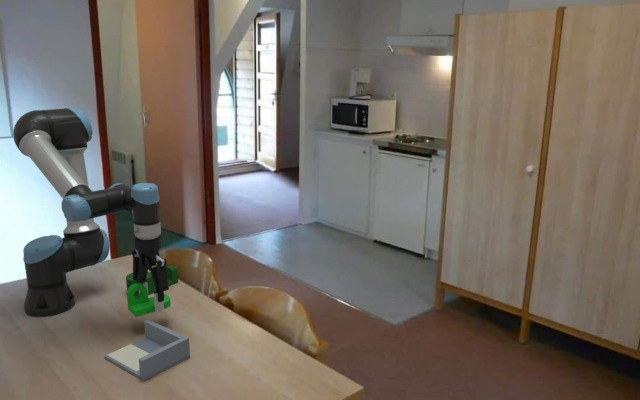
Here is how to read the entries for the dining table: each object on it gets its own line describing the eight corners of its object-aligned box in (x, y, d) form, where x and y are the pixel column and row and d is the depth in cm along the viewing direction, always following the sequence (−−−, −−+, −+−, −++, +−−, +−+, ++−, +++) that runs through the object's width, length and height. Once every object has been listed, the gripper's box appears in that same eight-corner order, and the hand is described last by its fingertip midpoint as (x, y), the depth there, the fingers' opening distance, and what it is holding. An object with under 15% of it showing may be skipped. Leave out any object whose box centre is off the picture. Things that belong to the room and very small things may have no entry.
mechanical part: (135, 317, 160) (134, 292, 158) (128, 309, 165) (126, 285, 163) (173, 306, 168) (172, 282, 166) (165, 299, 172) (164, 275, 170)
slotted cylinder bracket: (138, 300, 188) (137, 282, 186) (121, 294, 192) (120, 277, 191) (178, 283, 202) (177, 266, 201) (161, 277, 207) (160, 262, 206)
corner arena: (104, 358, 150) (102, 339, 149) (150, 337, 162) (148, 319, 160) (144, 381, 140) (142, 360, 138) (190, 356, 151) (188, 338, 150)
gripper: (116, 231, 163) (121, 301, 169) (158, 246, 152) (162, 321, 158) (138, 225, 169) (142, 293, 175) (179, 240, 157) (182, 312, 164)
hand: (151, 306), depth 166 cm, fingers closed on mechanical part, 7 cm apart
